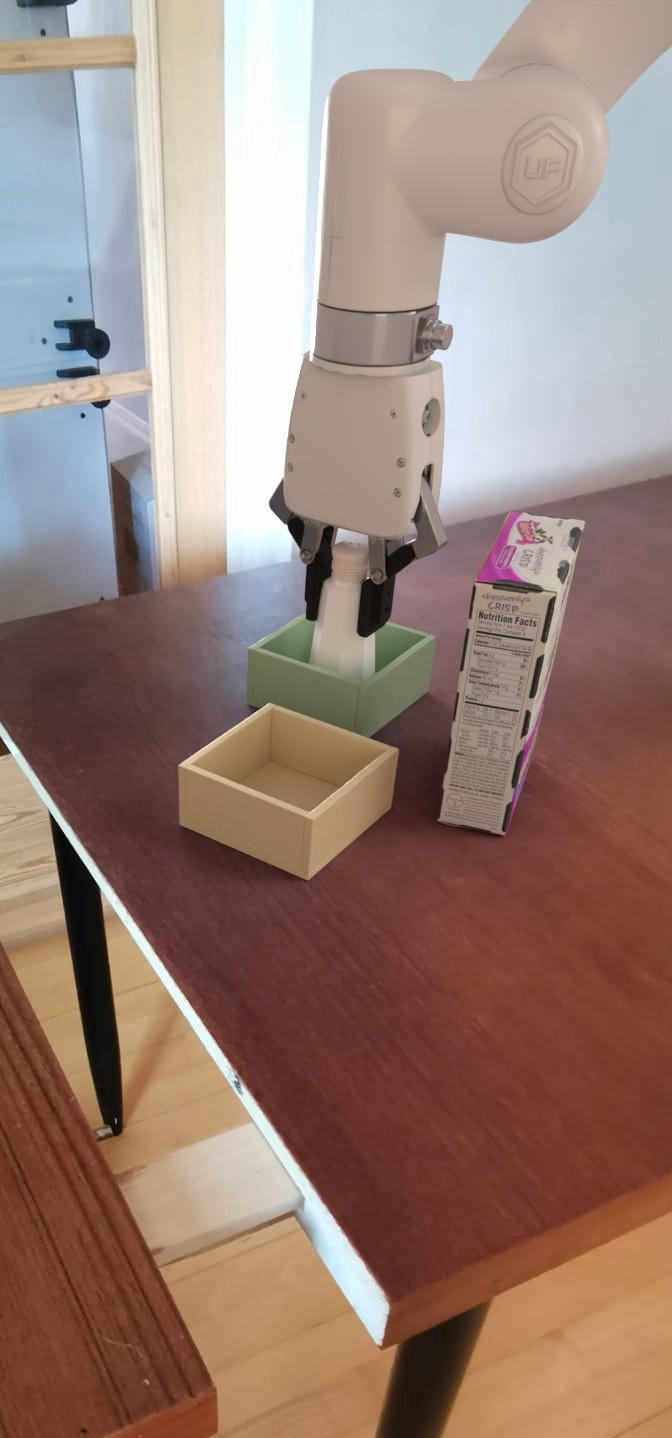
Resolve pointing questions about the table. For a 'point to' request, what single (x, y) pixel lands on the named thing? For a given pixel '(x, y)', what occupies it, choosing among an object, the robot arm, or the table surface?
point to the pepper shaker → (344, 616)
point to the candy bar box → (507, 668)
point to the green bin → (340, 677)
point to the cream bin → (287, 789)
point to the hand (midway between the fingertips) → (346, 620)
